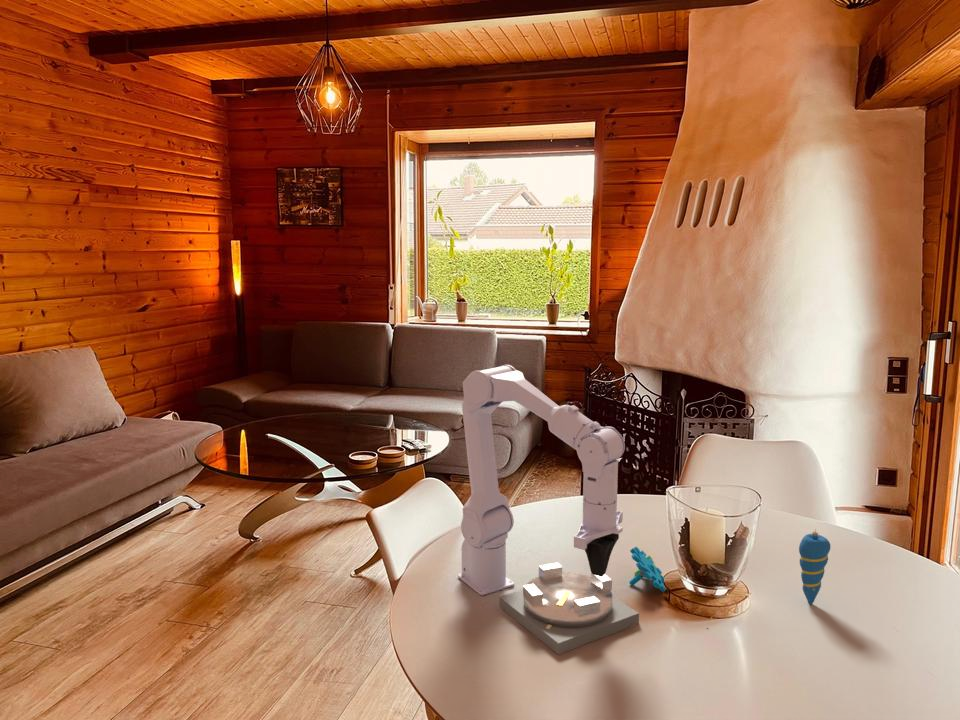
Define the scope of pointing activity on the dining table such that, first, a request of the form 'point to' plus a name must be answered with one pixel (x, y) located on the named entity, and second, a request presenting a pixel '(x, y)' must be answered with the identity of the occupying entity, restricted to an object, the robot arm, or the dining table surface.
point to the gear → (646, 569)
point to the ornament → (813, 563)
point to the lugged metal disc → (568, 597)
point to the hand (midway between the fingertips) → (598, 573)
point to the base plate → (568, 637)
